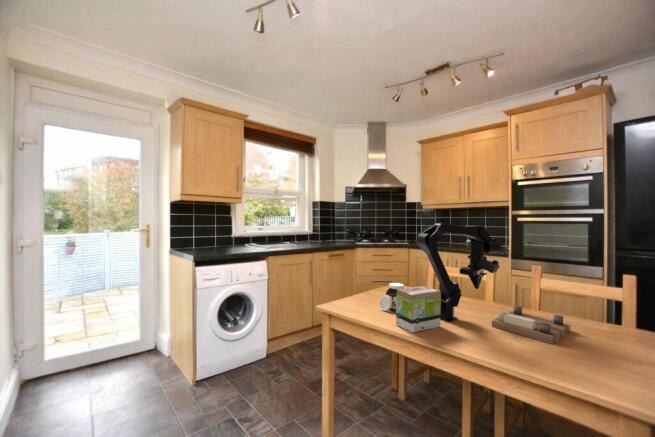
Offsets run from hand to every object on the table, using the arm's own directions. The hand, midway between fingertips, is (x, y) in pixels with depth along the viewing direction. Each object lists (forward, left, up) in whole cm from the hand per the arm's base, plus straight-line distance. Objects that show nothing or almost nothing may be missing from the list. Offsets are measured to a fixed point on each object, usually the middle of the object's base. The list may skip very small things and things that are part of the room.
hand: (476, 288), depth 129 cm
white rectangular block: (-5, -17, -9) cm, 20 cm away
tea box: (-31, +8, -12) cm, 34 cm away
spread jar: (-23, +28, -12) cm, 38 cm away
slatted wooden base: (+2, -20, -12) cm, 23 cm away
